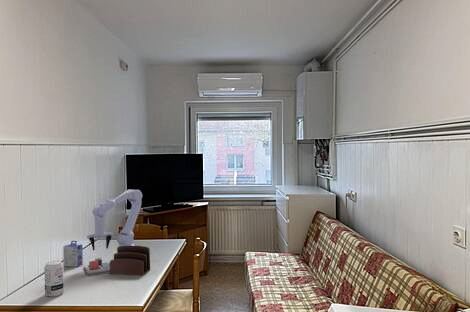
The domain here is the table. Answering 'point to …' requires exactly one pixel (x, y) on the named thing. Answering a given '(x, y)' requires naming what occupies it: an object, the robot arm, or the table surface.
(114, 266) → the letter holder
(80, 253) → the ink cartridge box
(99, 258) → the block
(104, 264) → the breaker panel
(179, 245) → the table surface
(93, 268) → the cap
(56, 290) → the supplement can
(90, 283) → the table surface
